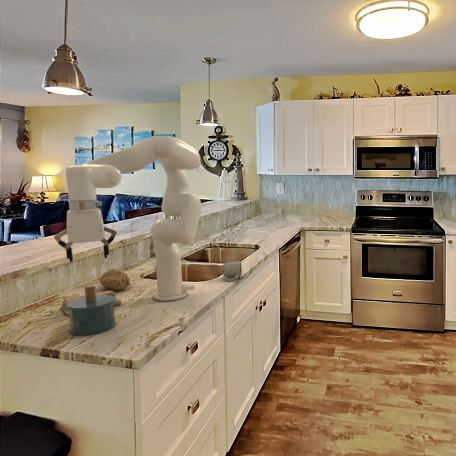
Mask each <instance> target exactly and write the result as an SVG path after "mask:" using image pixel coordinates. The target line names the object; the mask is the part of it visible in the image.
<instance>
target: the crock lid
mask: <svg viewBox="0 0 456 456" xmlns="http://www.w3.org/2000/svg"><path fill="white" fill-rule="evenodd" d="M96 293H97V290H96V284H86V285H85V286H84V295H85V296H84V297H80V298H76V299H74V300H71V301H69V302H68V303H67V308H69V309H73V310H87V309H95V308H99V307H103V306H106V305H109V304H111V303H113V302H114V301H115V298H116V297H115V298H114V296H111V295H96Z"/></svg>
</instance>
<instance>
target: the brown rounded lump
mask: <svg viewBox="0 0 456 456" xmlns="http://www.w3.org/2000/svg"><path fill="white" fill-rule="evenodd" d="M99 283H100V285H101V286H102V287H104V288H106V289H111V290H124V289H126V288H128V287H129V286H130V284H131V280H130V277H129V276H128V273H127V272H126V271H124V270H120V269H109V270H107V271H105V272H104V273H103V274H102V275H101V276H100V278H99Z"/></svg>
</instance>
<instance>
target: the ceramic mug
mask: <svg viewBox="0 0 456 456" xmlns="http://www.w3.org/2000/svg"><path fill="white" fill-rule="evenodd" d="M242 273H243V271H242V262H241V261H230V262H224V263H223V264H222V275H223V277H224V280H226V281H227V282H234V281H236V280H237V279H241V278H242Z"/></svg>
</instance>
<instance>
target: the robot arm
mask: <svg viewBox="0 0 456 456" xmlns="http://www.w3.org/2000/svg"><path fill="white" fill-rule="evenodd" d="M157 161H159V162H160V165H161V166H162V168H163V170H164V172H165V174H166V179H167V180H166V181H167V182H166V187H165V191H164V194H163V198H162V202H161V211H162V213H163V214H164V215H165V216H168V217H173V218H159V219H157V220H155V221H154V222H153V224H152V225H151V229H150V234H151V239H152V242H153V246H154V256H155V270H156V271H155V272H156V287H157V290H156V291H157V292H155V293H154V294H153V299H154V300H156V301H161V302H167V301H168V302H169V301H176V300H177V301H178V300H180V299H183V298H185V297H187V295H188V294H187V292H188V291H193V290H195V287H196V286H195V285H194V284H190V283H189V284H184V283H183V273H182V271H183V270H182V254H181V253H182V252H181V250H180V246H179V245H189V244H191V243H192V242H193V241H194V239H195V237H196V234H197V232H198V231H197V230H198V226H199V221H200V218H201V213H202V201H201V200H200V197H199V196H198V195H196V194H194V193H189V188H190V181H189V177H188V175H187V173H186V171H187V170H188V171H190V170H191V171H192V170H195V169H196V168H198V167H199V166H200V164H201V155H200V153H199V152H198V150H197V149H196V148H195V147H193V146H191V145H189V144H188V143H187V142H185V141H183V140H181V139H179V138H177V137H175V136H173V135H154V136H148V137H147V138H144V139H142V140H141V141H138V142H136V143H134V144H132V145H130V146H128V147H126V148H124V149H120V150H116V151H114V152H111V153H108V154H104V155H101V156H99V157H96V158H94V159H92V160H90V161H88V162H86V163H84V164H82V165H70V166H67V167H66V169H65V176H66V177H65V178H66V185H67V187H66V188H67V195H68V196H67V197H68V205H69V206H68V207H69V210H67V211H66V228H65V229H63V230H62V231H60V232H58V233H56V234H55V235H54V236H53V239H54V240H55V241H56V243H58V245H59V246H60V247H62V248H64V249H65V254H66V259H67V260H69V263H72V262H73V261H74V256H73V248H72V245H73V244H75V243H76V244H78V243H89V242H101V243H102V244H103V245H102V246H103V255H104V259H107V258H108V256H110V248H109V246H110V244H111V243H112V242H113V241H114V240H115V238H116V236H117V233H118V231H117V230H115V229H114V228H111V227H107V226H105V225H104V219H103V213H102V211H101V208H98V207H100V206H103V201H102V200H98V199H97V189H113V188H115V187H117V186H119V184H120V183H121V181H122V175H123V174H129V173H134V172H139V171H141V170H143V169H144V168H146V167H148V166H149V165H151V164H153V163H155V162H157ZM185 170H186V171H185ZM175 217H176V218H175ZM177 218H179V219H177ZM105 232H107V233H109V234H110V236H109V237H108V238H106V236H105V234H106V233H105ZM64 236H67V241H68V242H65V241H64V240H62V237H64Z"/></svg>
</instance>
